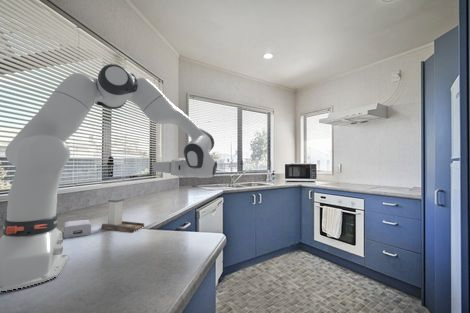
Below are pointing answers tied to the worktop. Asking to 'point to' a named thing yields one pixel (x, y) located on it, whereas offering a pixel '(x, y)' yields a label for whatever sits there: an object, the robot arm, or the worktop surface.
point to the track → (124, 226)
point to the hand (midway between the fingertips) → (155, 166)
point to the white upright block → (115, 211)
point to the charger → (77, 228)
